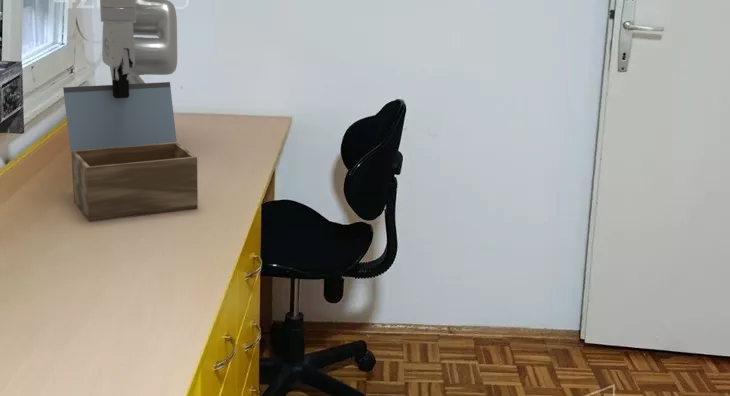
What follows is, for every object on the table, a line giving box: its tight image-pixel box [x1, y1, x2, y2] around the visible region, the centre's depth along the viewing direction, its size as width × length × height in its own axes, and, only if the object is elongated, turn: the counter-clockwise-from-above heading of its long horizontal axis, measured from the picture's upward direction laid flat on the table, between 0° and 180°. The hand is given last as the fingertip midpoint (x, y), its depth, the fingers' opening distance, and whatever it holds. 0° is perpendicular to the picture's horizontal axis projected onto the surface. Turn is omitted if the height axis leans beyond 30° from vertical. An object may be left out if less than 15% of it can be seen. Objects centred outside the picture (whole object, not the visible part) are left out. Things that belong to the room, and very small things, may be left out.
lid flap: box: [62, 81, 178, 152], centre depth 201 cm, size 14×24×1 cm
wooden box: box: [70, 142, 199, 223], centre depth 197 cm, size 14×24×12 cm, turn 120°
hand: (121, 97), depth 200 cm, fingers closed
